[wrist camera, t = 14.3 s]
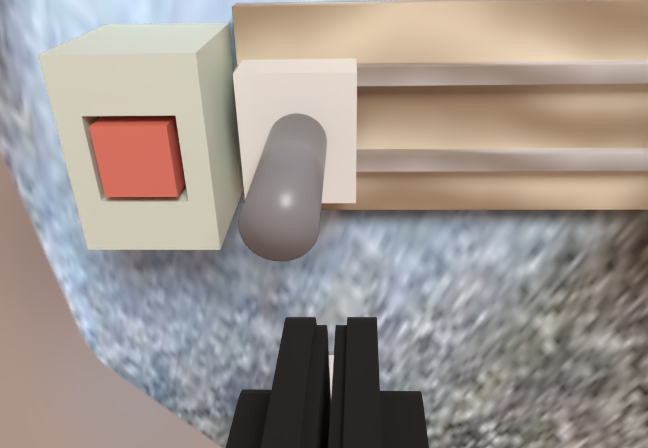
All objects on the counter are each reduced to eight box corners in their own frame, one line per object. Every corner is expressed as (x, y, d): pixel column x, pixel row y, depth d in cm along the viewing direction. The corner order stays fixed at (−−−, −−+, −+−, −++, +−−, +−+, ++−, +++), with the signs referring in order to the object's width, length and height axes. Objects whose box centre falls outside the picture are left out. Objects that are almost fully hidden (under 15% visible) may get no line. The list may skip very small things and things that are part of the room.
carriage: (355, 180, 33) (358, 303, 23) (253, 180, 33) (209, 303, 23) (356, 58, 30) (360, 137, 19) (242, 59, 30) (185, 137, 19)
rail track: (646, 198, 36) (666, 217, 34) (254, 199, 37) (248, 217, 35) (704, -5, 30) (732, 1, 28) (236, 3, 31) (228, 9, 29)
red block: (197, 164, 31) (177, 196, 28) (132, 164, 31) (105, 197, 28) (188, 100, 29) (166, 126, 26) (120, 100, 30) (89, 126, 26)
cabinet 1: (245, 185, 36) (220, 249, 29) (137, 185, 37) (88, 249, 30) (229, 22, 32) (195, 52, 25) (106, 24, 32) (38, 54, 25)
